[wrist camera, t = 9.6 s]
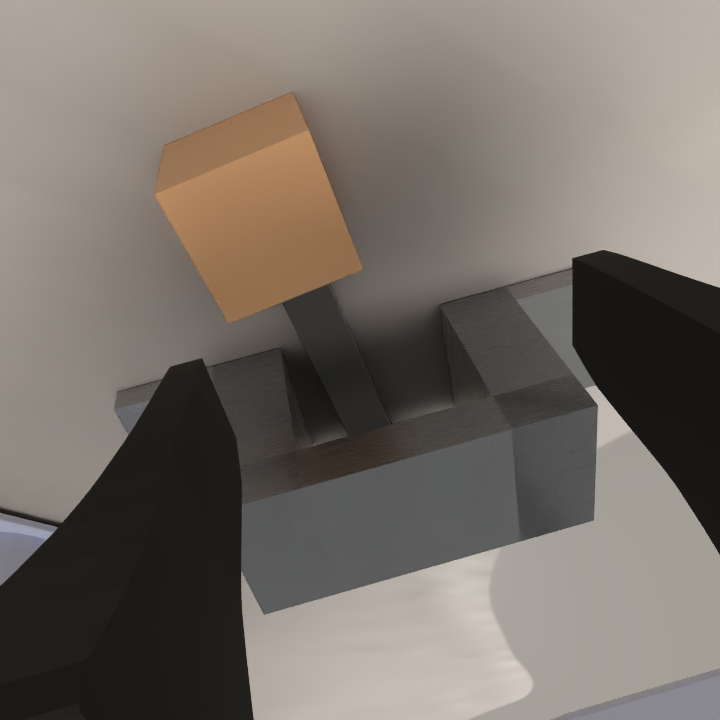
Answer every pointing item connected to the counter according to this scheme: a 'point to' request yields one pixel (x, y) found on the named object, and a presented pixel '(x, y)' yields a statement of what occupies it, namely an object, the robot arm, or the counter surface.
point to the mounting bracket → (415, 455)
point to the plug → (271, 238)
